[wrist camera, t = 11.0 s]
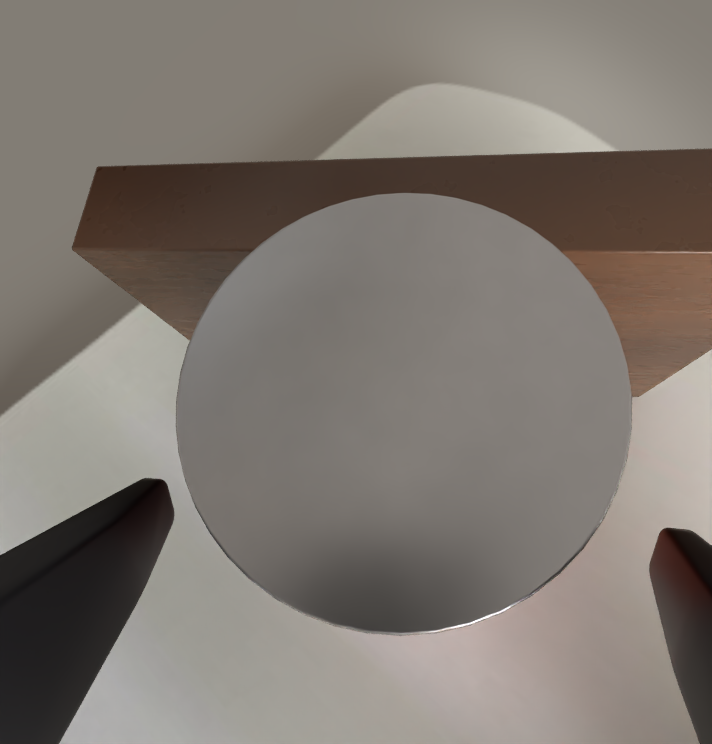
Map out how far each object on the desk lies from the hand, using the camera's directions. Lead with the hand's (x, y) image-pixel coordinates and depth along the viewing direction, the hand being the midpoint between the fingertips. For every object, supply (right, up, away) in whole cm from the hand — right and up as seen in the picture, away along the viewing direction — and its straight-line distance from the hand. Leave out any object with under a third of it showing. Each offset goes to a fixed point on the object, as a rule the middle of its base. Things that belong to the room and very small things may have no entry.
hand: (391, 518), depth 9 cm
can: (+2, -1, +10) cm, 10 cm away
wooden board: (+2, +3, +11) cm, 12 cm away
